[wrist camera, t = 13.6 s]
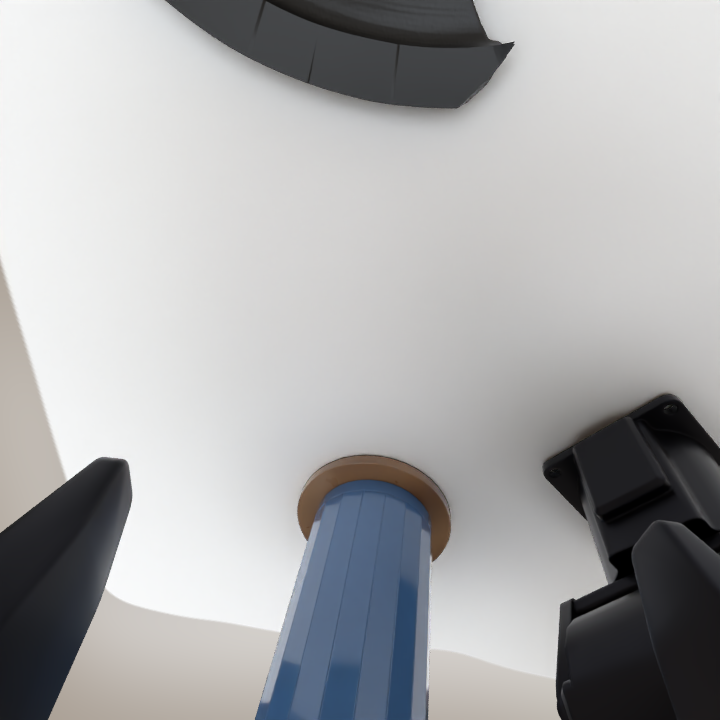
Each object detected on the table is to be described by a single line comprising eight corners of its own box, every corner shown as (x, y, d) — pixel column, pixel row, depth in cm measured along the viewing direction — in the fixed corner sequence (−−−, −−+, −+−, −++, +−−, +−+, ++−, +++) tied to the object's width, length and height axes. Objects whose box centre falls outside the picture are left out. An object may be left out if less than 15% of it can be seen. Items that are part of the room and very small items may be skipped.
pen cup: (446, 496, 25) (449, 813, 14) (414, 576, 28) (396, 889, 17) (328, 465, 25) (240, 755, 14) (308, 548, 28) (222, 840, 17)
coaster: (482, 527, 26) (483, 536, 26) (371, 587, 30) (370, 596, 29) (376, 427, 24) (375, 435, 24) (270, 503, 28) (266, 511, 27)
